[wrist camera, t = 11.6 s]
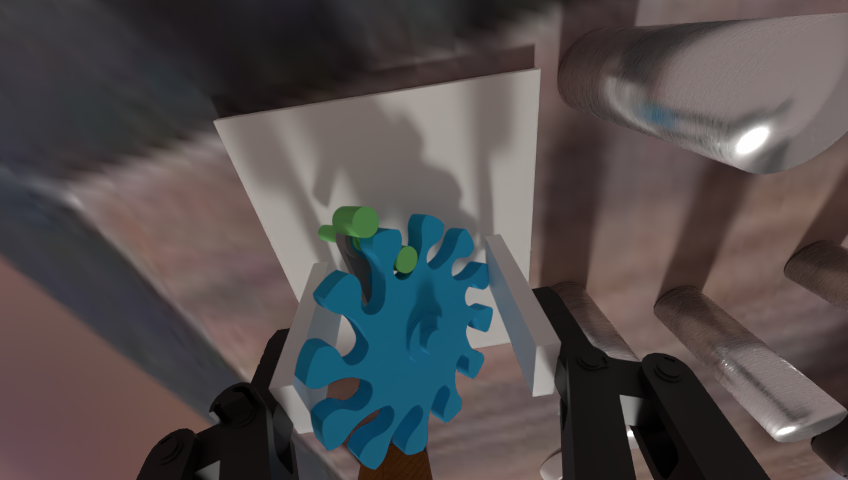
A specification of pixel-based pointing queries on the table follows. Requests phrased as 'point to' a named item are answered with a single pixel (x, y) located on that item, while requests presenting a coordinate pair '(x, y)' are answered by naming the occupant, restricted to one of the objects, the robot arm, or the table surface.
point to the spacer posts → (736, 146)
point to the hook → (552, 468)
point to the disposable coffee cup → (399, 467)
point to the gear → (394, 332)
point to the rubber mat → (396, 172)
